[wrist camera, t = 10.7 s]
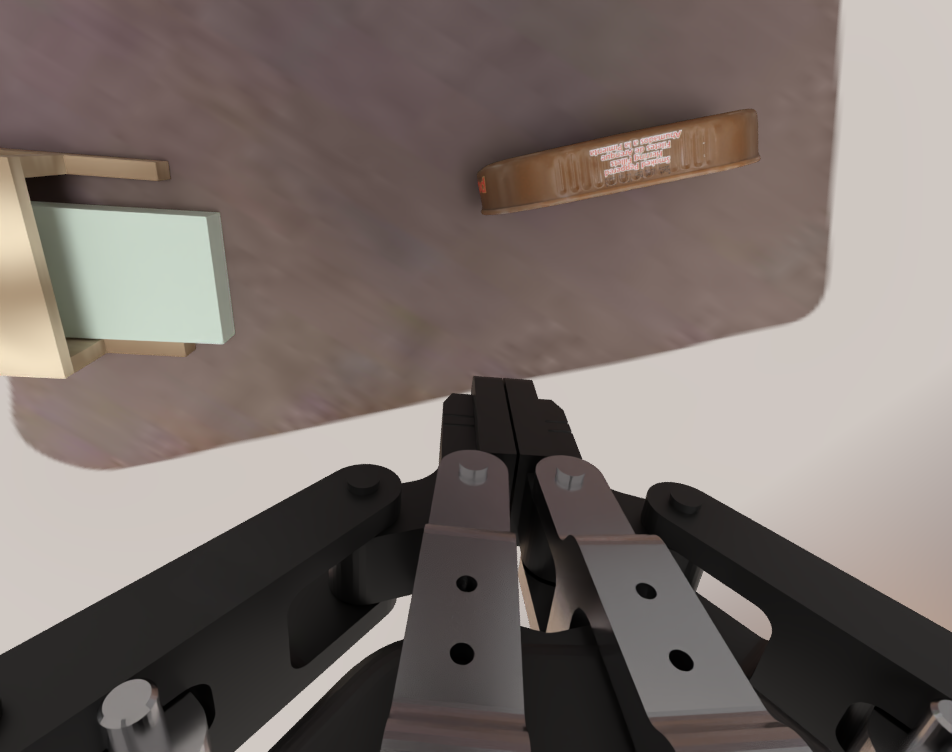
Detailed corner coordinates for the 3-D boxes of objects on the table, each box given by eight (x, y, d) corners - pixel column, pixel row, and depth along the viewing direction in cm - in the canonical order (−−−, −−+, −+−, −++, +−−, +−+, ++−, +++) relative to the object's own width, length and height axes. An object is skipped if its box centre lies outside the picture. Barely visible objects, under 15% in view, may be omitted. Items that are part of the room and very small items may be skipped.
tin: (478, 210, 33) (488, 231, 26) (469, 158, 32) (476, 164, 24) (714, 162, 33) (794, 170, 25) (714, 107, 32) (799, 97, 24)
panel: (-31, 196, 32) (-67, 200, 30) (222, 211, 33) (205, 216, 31) (8, 320, 35) (-22, 333, 33) (237, 331, 36) (223, 344, 34)
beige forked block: (-74, 142, 30) (-180, 142, 25) (167, 161, 31) (113, 165, 26) (-12, 337, 35) (-90, 371, 30) (195, 348, 36) (154, 382, 31)
